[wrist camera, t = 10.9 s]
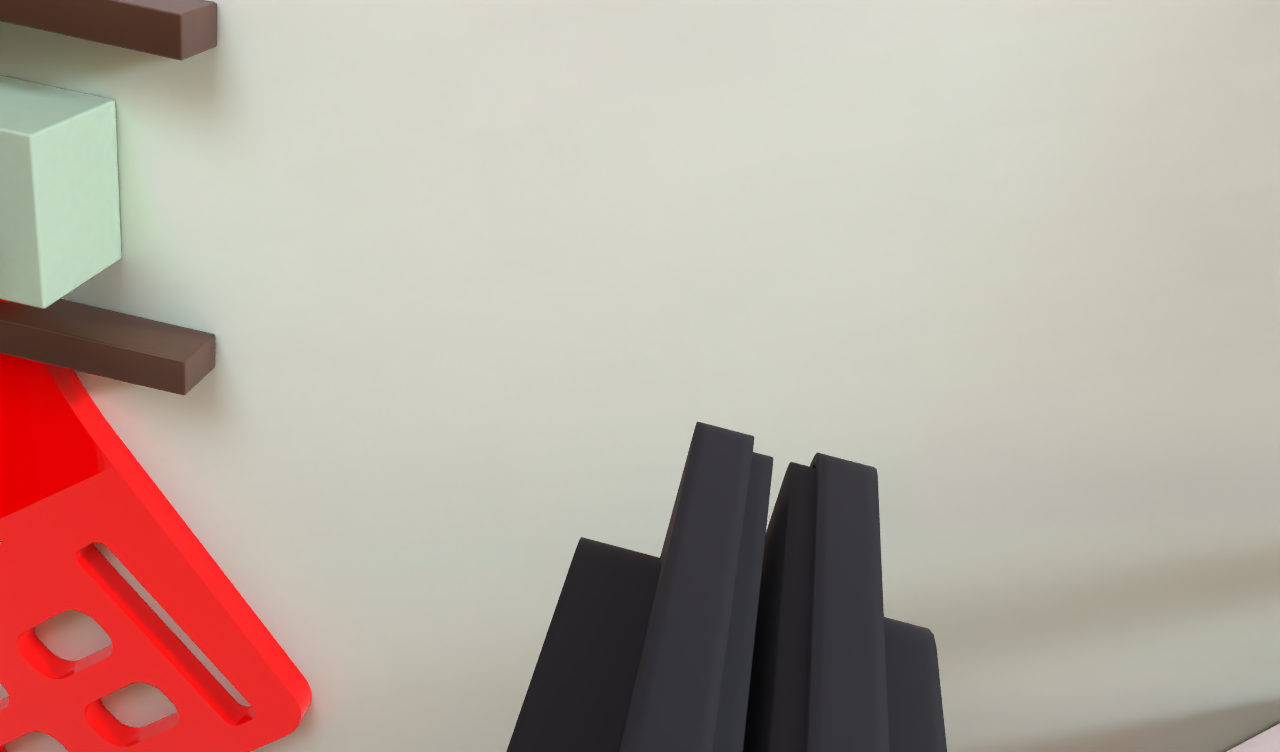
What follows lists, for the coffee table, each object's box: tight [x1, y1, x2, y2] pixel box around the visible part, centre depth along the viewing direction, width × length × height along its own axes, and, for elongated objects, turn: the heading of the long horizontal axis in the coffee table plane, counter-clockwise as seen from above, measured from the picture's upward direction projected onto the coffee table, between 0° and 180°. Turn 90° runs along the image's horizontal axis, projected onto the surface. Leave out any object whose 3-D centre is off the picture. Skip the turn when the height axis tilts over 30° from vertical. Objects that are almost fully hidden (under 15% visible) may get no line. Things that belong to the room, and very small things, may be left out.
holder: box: [0, 0, 217, 395], centre depth 33 cm, size 11×9×2 cm
